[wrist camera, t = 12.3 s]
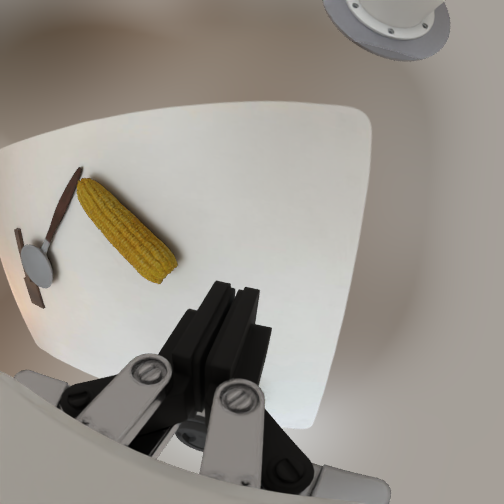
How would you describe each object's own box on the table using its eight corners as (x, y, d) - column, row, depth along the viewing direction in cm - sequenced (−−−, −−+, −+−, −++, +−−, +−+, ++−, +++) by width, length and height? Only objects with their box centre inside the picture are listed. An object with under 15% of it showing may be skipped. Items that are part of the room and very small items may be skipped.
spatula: (13, 227, 51) (10, 228, 50) (24, 230, 50) (21, 231, 49) (33, 301, 61) (31, 303, 60) (45, 307, 60) (42, 309, 59)
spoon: (25, 258, 53) (17, 264, 50) (68, 147, 40) (57, 150, 37) (53, 289, 56) (46, 296, 53) (106, 185, 42) (96, 190, 40)
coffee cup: (199, 355, 52) (169, 417, 39) (256, 375, 51) (237, 441, 38) (193, 386, 57) (168, 441, 44) (243, 404, 56) (225, 461, 43)
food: (187, 253, 43) (170, 272, 37) (169, 275, 45) (152, 295, 40) (94, 167, 40) (69, 175, 34) (82, 192, 42) (59, 203, 37)
